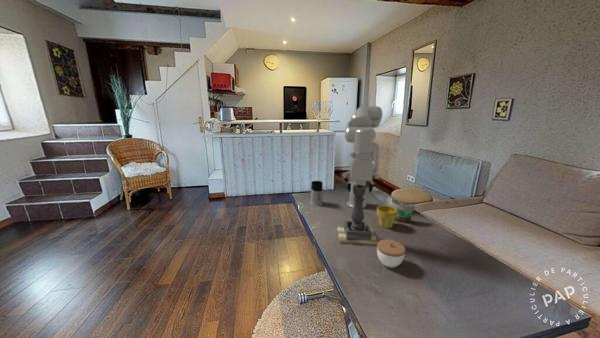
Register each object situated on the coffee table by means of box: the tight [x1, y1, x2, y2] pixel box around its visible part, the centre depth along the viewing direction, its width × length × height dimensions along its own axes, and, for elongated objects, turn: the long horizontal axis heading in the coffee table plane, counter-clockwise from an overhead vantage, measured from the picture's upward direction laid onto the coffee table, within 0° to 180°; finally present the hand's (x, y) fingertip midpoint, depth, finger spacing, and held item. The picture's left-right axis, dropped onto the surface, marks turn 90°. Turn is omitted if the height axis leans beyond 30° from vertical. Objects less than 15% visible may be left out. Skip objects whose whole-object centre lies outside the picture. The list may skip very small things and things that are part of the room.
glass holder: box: [309, 180, 329, 207], centre depth 152 cm, size 9×14×15 cm, turn 43°
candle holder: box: [350, 184, 367, 231], centre depth 110 cm, size 6×6×25 cm
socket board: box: [336, 220, 379, 245], centre depth 113 cm, size 13×18×6 cm
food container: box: [391, 201, 416, 224], centre depth 129 cm, size 12×6×10 cm, turn 68°
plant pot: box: [376, 205, 397, 229], centre depth 124 cm, size 10×10×10 cm
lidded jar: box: [376, 239, 406, 269], centre depth 93 cm, size 11×11×9 cm
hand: (359, 191), depth 108 cm, fingers open, 9 cm apart
